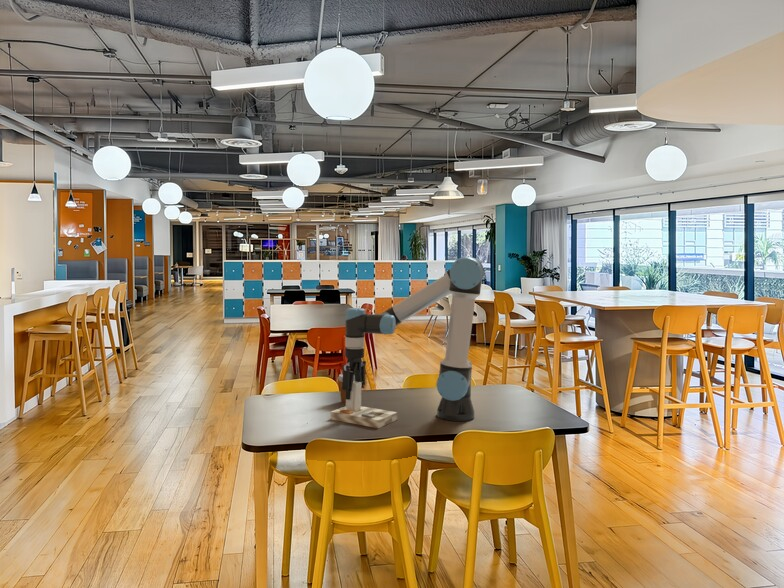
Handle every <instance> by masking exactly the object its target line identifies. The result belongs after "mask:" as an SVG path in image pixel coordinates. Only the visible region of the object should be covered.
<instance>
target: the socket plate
mask: <svg viewBox="0 0 784 588" xmlns="http://www.w3.org/2000/svg"><path fill="white" fill-rule="evenodd" d="M330 420H333V421H338V422H342V423H343V422H344V423H349V424H355V425H360V426H365V427H370V428H374V429H380V428H383V427H384V426H387V425H389V424H391V423H393V422H396V421H397V420H398V411H392V410H385V409H381V408H375V407H369V406H362V405H361V411H359V412H356V413H354V412H353V411H350V410H347V407H346V405H345V406H343V407H340V408H337V409H334V410H332V411H330Z"/></svg>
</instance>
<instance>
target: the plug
mask: <svg viewBox="0 0 784 588" xmlns="http://www.w3.org/2000/svg"><path fill="white" fill-rule="evenodd" d="M361 386H362V382H356V381H353V385H352V391H353V408H348V407H347V410H350V411H353V412H354V413H356V412H359V411H361V406H362V394H361Z"/></svg>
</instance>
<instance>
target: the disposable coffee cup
mask: <svg viewBox="0 0 784 588" xmlns="http://www.w3.org/2000/svg"><path fill="white" fill-rule="evenodd" d="M337 380H338V383H339V393H340V403H341V404H343V405H346V391H344V390H342V382H343V373H340V374H339V375H338V377H337ZM353 381H355V375H354V379H353Z"/></svg>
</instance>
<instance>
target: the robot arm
mask: <svg viewBox="0 0 784 588" xmlns="http://www.w3.org/2000/svg"><path fill="white" fill-rule="evenodd" d="M484 273H485V270H484V265H483V264H482V262H481V261H480V260H479V259H477V258H476V257H473V256H462V257H459V258H458V259H456V260H454V262H453V263H452V264H451V266H450V268H449V269H448V270H446V271H445V274H444V275H442V276H441V277H439V278H438V279H436V280H435V281H433V282H431V283H430V284H428V285H426V286H425V287H423V288H420V289H419V290H417V291H416V292H414V293H412V294H411V295H409V296H407V297H406V298H405V299H403V300H401V301H400V302H397V303H396V304H394V305H393V306H391V307H389V308H387V309H386V310H384V311H382V312H380V313H378V314H376V313H372V314H371V313H366V310H365V309H364V308H362V307H361V308H360V307H351V308H350V307H349V308H347V309H346V311H345V320H344V322H345V323H344V324H345V325H344V326H345V329H344V330H345V340H344V342H345V343H344V344H345V345H344V346H345V348H344V357H345V358H346V360H347V361H346V363H345V364H343V365H342V366H341V368H342V374H343V382H342V390H344V391H346V404H345V406H346V407H348V408H353V391H352V385H353V379H354V375H355V381H356V382H362V386H361V395H362V394H363V393H362V389H364V388H365V385H366V363H367V361H366V360H363V358H364V357H365V348H364V347H365V334H376V335H377V334H378V335H383V336H384V335H393V334H394V333H395V331H396V327H397V326H398V325H400V324H402V323H404V322H405V321H406V320H409V319H410V318H411V317H413V316H416V315H417V314H419V313H421V312H422V311H424V310H426V309H427V308H429V307H431V306H433V305H434V304H436V303H437V302H439V301H441V300H442V299H444V298H446V297H447V296H449V295H451V296H452V298H451V307H450V314H449V323H448V330H447V331H448V332H447V339H446V348H445V355H444V356H445V357H444V358H443V359H442V360H441V361H440V363H439V365H440V366H439V372H438V377H437V379H436V384H435V385H436V390H437V393H438V394H439V395H440V401H439V404H438V407H437V409H436V417H438V418H439V419H442V420H444V421H451V422H452V421H453V422H464V421H465V422H466V421H470V420H473V419H474V418H475V409H474V405H473V401H472V397H471V395H472V370H473V367H472V361H469V360H468V359H469V354H470V353H469V351H470V344H471V335H472V328H473V320H474V311H475V304H476V303H475V302H476V298H477V297H479V296H480V295H481V288H482V280H483V278H484Z"/></svg>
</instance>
